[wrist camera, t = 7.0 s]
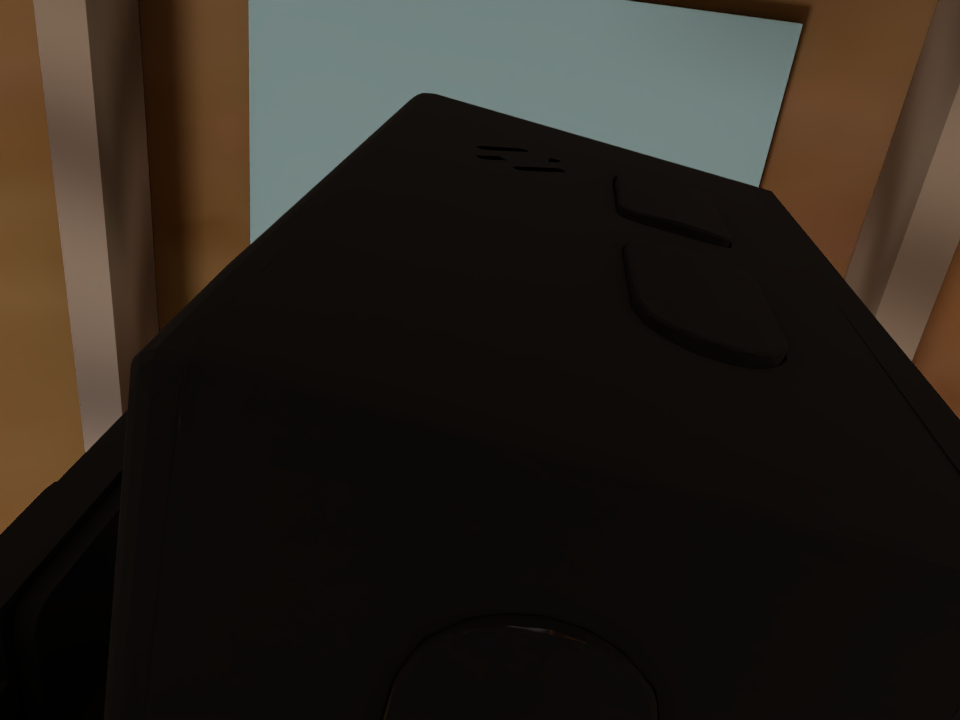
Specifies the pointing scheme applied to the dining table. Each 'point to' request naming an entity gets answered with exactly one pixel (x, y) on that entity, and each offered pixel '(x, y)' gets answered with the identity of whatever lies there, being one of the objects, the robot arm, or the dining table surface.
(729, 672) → the digital camera
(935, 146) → the twin metal rails
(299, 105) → the front mat
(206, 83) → the dining table surface
